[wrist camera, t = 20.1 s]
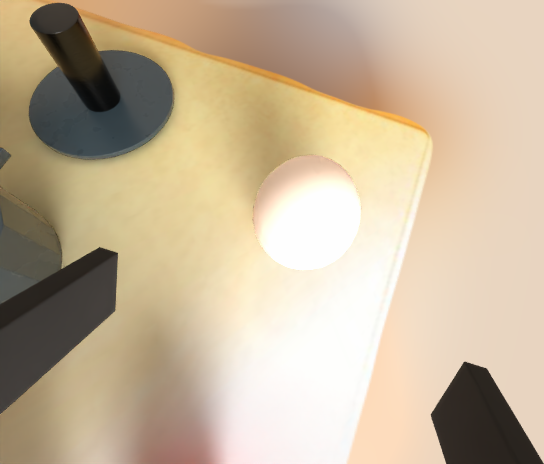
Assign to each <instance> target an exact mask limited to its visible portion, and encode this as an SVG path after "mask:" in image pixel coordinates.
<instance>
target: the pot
mask: <svg viewBox="0 0 544 464" xmlns="http://www.w3.org/2000/svg"><path fill="white" fill-rule="evenodd" d="M10 157H11V155H10V154H9V153H8V152H7V151H6V150H4V149H3V148H1V147H0V169H1V168H2V166H3V165H4V164H5V163H6V162H7V160H8V159H9V158H10ZM61 264H62V252H61V246H60V242H59V239H58V237H57V234H56V233H55V231H54V229H53V228H52V226H51V225H50V224H49V223H48V222H47V221H46V220H45V219H44V218H43V217H42V216H41V215H40V214H39V213H38V212H37V211H36V210H34V209H33V208H31V207H30V206H28V205H27V204H25V203H24V202H22V201H21V200H19V199H18V198H16V197H15V196H13V195H12V194H10V193H9V192H7V191H6V190H4V189H3V188H1V187H0V304H1V303H3V302H5V301H7V300H8V299H10V298H12V297H14V296H15V295H17V294H19V293H21V292H22V291H24V290H26V289H28V288H29V287H31V286H33V285H35V284H36V283H38V282H40V281H42V280H43V279H45V278H47V277H49V276H50V275H52V274H54V273H56V272H57V271H59V270H61Z"/></svg>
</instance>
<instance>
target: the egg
mask: <svg viewBox="0 0 544 464" xmlns="http://www.w3.org/2000/svg"><path fill="white" fill-rule="evenodd" d="M360 216H361V204H360V199H359V195H358V191H357V188H356V186H355V184H354V181H353V179H352V178H351V177H350V175H349V174H348V173H347V171H346V170H345V169H344V168H343V167H342V166H341V165H339V164H338V163H336V162H335V161H333V160H332V159H329V158H326V157H323V156H318V155H305V156H298V157H295V158H292V159H290V160H288V161H286V162H284V163H282V164H281V165H279V166H278V167H277V168H276V169H275V170H273V171H272V172H271V173H270V174H269V175H268V176H267V177H266V179H265V180H264V181H263V182H262V184H261V186H260V188H259V190H258V192H257V195H256V199H255V203H254V206H253V224H254V229H255V234H256V237H257V239H258V241H259V243H260V244H261V246H262V248H263V249H264V250H265V251H266V253H267V254H268V255H269V256H270V257H271V258H273V259H274V260H275V261H276V262H278V263H280V264H282V265H284V266H286V267H288V268H293V269H298V270H307V269H316V268H321V267H324V266H326V265H328V264H330V263H332V262H334V261H335V260H336V259H338V258H339V257H340V256H341V255H343V253H344V252H345V251H346V250H347V248H348V247H349V246H350V245H351V243H352V241H353V239H354V237H355V235H356V233H357V231H358V227H359V223H360Z"/></svg>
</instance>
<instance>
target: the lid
mask: <svg viewBox="0 0 544 464" xmlns="http://www.w3.org/2000/svg"><path fill="white" fill-rule="evenodd" d="M30 25H31V27H32V29H33V30H34V32H35V33H36V34H37V36H38V37H39V39H40V40H41V42H42V43H43V45H44V46H45V48H46V49H47V51H48V52H49V54H50V55H51V56H52V58H53V59H54V61H55V62H56V64H57V65H58V67H57V68H55V69H54V70H53V71H51V72H50V73H49V74H48V75H47V76H46V77H45V78H44V79H43V80H42V81H41V82H40V84H39V85H38V86H37V88H36V90H35V91H34V93H33V95H32V98H31V101H30V106H29V118H30V123H31V125H32V128H33V130H34V131H35V133H36V135H37V136H38V137H39V138H40V139H41V140H42V141H43V142H44V143H45V144H46V145H47V146H48V147H50V148H51V149H53V150H55V151H56V152H58V153H61V154H63V155H66V156H70V157H74V158H80V159H105V158H110V157H115V156H119V155H122V154H125V153H128V152H130V151H132V150H135V149H136V148H138V147H140V146H142V145H144V144H145V143H147V142H148V141H149V140H151V139H152V138H153V137H154V136H155V135H157V134H158V132H159V131H160V130H161V129H162V128H163V127H164V125H165V124H166V122H167V121H168V119H169V117H170V115H171V112H172V109H173V104H174V92H173V87H172V84H171V82H170V79H169V77H168V76H167V74H166V72H165V71H164V70H163V69H162V68H161V67H160V66H159V65H158V64H157V63H155V62H154V61H152V60H151V59H149V58H147V57H145V56H142V55H139V54H136V53H132V52H127V51H118V50H108V51H98V50H97V48H96V46H95V44H94V42H93V40H92V38H91V36H90V34H89V32H88V30H87V28H86V27H85V25H84V23H83V21H82V19H81V17H80V15H79V13H78V11H77V10H76V9H75V8H74V7H73V6H71V5H69V4H65V3H52V4H48V5H45V6H42V7H40V8H39V9H37V10H36V11H35V12H34V13H33V14H32V15H31V17H30Z"/></svg>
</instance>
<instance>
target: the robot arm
mask: <svg viewBox="0 0 544 464" xmlns="http://www.w3.org/2000/svg"><path fill="white" fill-rule="evenodd" d="M117 261H118V253H116V252H113V251H110V250H107V249H103V248H100V247H99V248H97V249H96V250H94V251H92V252H90V253H89V254H87V255H85V256H83V257H82V258H80V259H78V260H77V261H75V262H73V263H71V264H70V265H68V266H66V267H64V268H63V269H61V270H59V271H57V272H56V273H54V274H52V275H50V276H49V277H47V278H45V279H43V280H42V281H40V282H38V283H36V284H35V285H33V286H31V287H29V288H28V289H26V290H24V291H22V292H21V293H19V294H17V295H15V296H14V297H12V298H10V299H8V300H7V301H5V302H3V303H1V304H0V414H1V413H2V412H3V411H5V410H6V409H7V408H8V407H9V406H10V405H11V404H12V403H13V402H15V401H16V400H17V399H18V398H19V397H20V396H21V395H22V394H23V393H24V392H26V391H27V390H28V389H29V388H30V387H31V386H32V385H33V384H34V383H36V382H37V381H38V380H39V379H40V378H41V377H42V376H43V375H44V374H46V373H47V372H48V371H49V370H50V369H51V368H52V367H53V366H54V365H56V364H57V363H58V362H59V361H60V360H61V359H62V358H63V357H64V356H66V355H67V354H68V353H69V352H70V351H71V350H72V349H73V348H74V347H75V346H77V345H78V344H79V343H80V342H81V341H82V340H83V339H84V338H85V337H87V336H88V335H89V334H90V333H91V332H92V331H93V330H94V329H95V328H97V327H98V326H99V325H100V324H101V323H102V322H103V321H104V320H105V319H107V318H108V317H109V316H110V315H111V314H112V313H113V312H114V311H115V304H116V282H117ZM431 417H432V421H433V424H434V427H435V430H436V433H437V436H438V439H439V442H440V445H441V448H442V452H443V455H444V458H445V461H446V464H544V463H543V462H542V460H541V459H540V457H539V455H538V453H537V452H536V450H535V448H534V447H533V445H532V443H531V442H530V440H529V438H528V437H527V435H526V433H525V432H524V430H523V428H522V427H521V425H520V423H519V422H518V420H517V418H516V417H515V415H514V413H513V412H512V410H511V408H510V407H509V405H508V403H507V402H506V400H505V398H504V397H503V395H502V393H501V392H500V390H499V388H498V387H497V385H496V383H495V382H494V380H493V378H492V377H491V375H490V373H489V371H488V370H487V369H486V368H483V367H480V366H477V365H474V364H471V363H467V362H464V363H463V365H462V366H461V368H460V369H459V371H458V372H457V374H456V376H455V377H454V379H453V380H452V382H451V383H450V385H449V387H448V388H447V390H446V391H445V393H444V395H443V396H442V398H441V399H440V401H439V403H438V404H437V406H436V407H435V409H434V411H433V412H432V414H431Z"/></svg>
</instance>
